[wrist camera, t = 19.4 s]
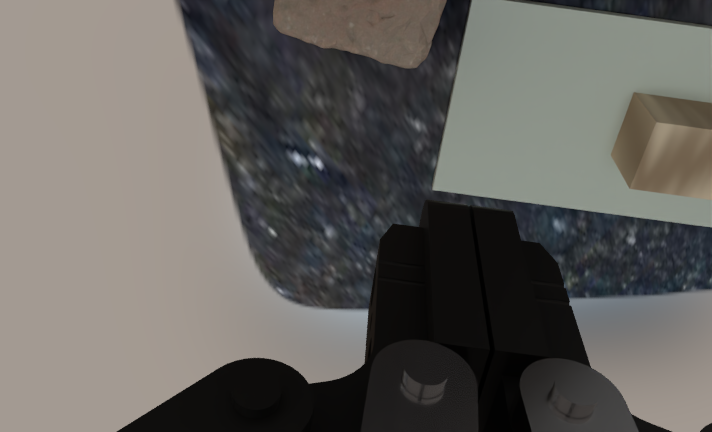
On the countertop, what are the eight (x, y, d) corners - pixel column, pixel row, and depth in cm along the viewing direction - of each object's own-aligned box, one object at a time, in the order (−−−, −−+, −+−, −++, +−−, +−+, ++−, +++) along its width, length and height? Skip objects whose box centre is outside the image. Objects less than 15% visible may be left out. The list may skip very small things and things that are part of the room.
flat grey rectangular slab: (472, -7, 36) (472, -4, 35) (802, 38, 36) (808, 41, 35) (431, 185, 42) (432, 189, 42) (711, 222, 42) (715, 227, 42)
